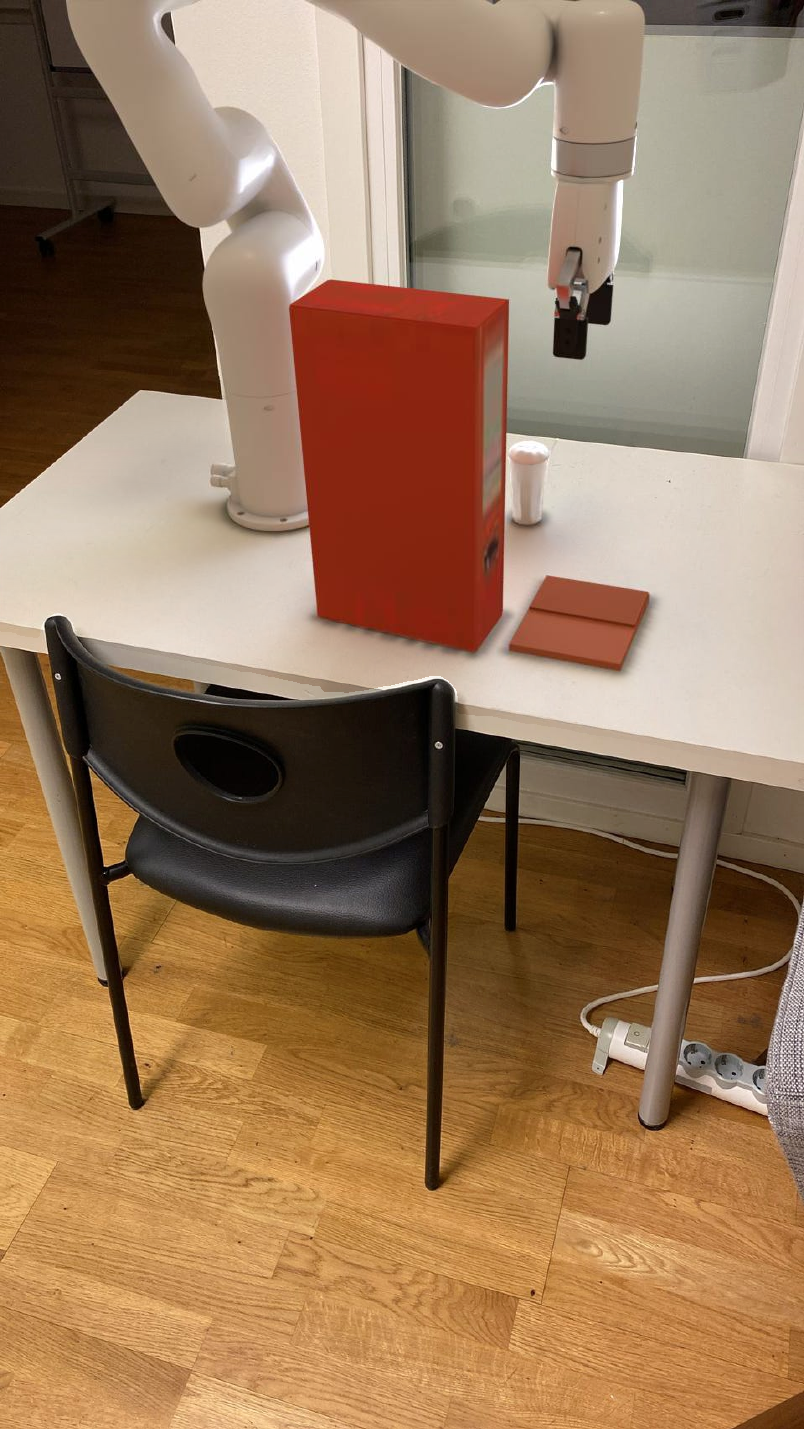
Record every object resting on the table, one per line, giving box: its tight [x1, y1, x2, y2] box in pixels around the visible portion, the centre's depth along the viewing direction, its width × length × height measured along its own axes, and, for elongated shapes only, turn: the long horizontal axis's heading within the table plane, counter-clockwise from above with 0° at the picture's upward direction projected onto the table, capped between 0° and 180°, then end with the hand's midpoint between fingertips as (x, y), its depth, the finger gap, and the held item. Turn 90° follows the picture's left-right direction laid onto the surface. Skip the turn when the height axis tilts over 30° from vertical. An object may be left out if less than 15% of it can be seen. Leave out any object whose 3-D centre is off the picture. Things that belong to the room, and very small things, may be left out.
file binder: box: [289, 278, 510, 653], centre depth 111 cm, size 8×17×32 cm, turn 65°
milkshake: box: [507, 438, 559, 526], centre depth 132 cm, size 4×5×10 cm
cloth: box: [508, 574, 651, 672], centre depth 118 cm, size 11×13×1 cm
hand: (582, 339), depth 119 cm, fingers open, 9 cm apart
